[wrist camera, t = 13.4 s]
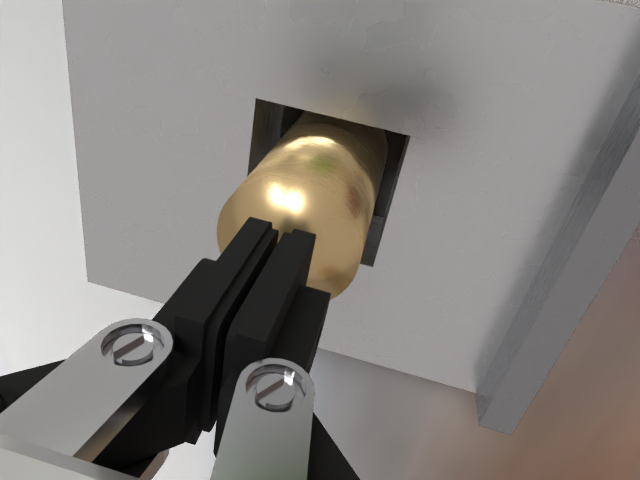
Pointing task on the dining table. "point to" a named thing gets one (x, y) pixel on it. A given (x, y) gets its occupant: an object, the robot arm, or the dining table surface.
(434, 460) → the dining table surface
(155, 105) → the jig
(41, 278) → the dining table surface
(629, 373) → the dining table surface
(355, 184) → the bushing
